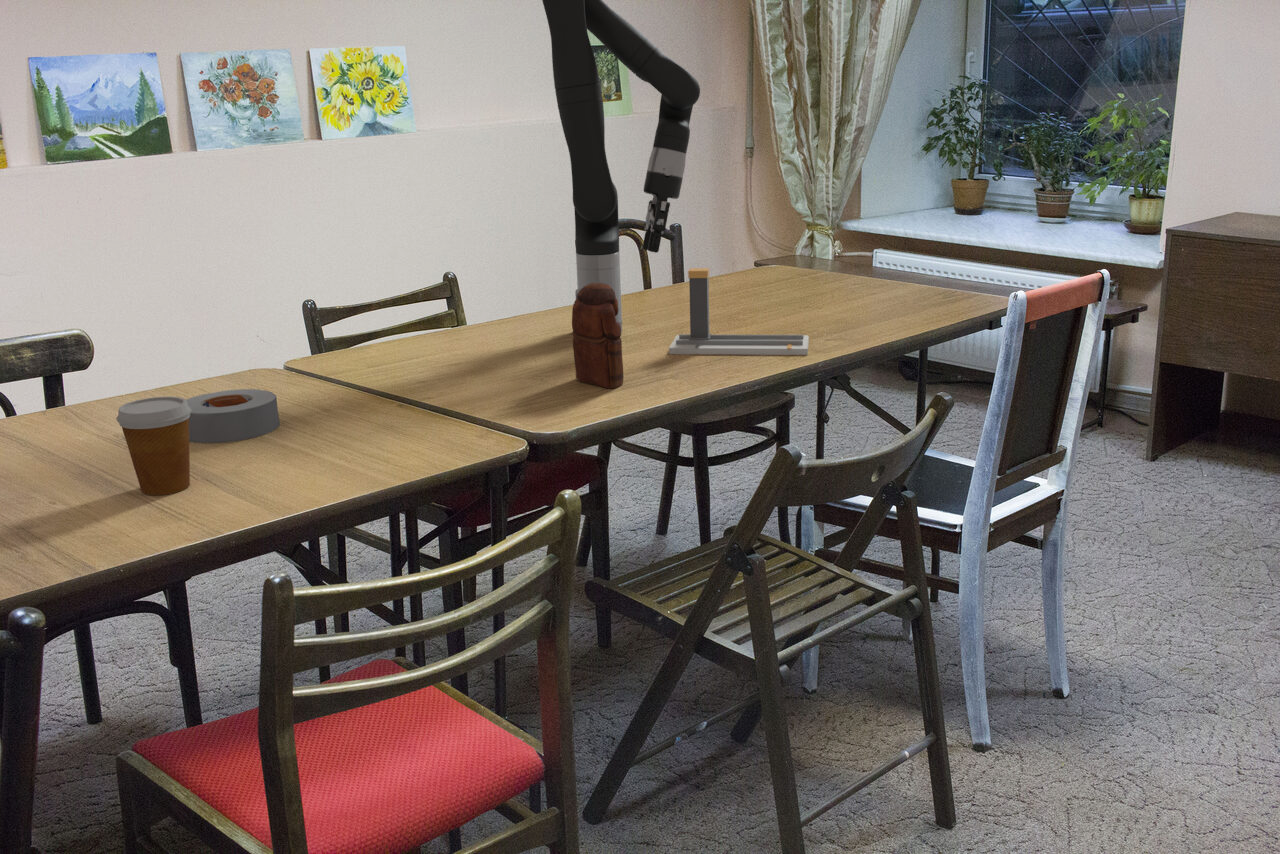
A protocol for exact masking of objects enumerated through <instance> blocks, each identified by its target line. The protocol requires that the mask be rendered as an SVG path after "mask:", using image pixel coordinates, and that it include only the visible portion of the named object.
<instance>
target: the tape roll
mask: <svg viewBox="0 0 1280 854" xmlns="http://www.w3.org/2000/svg"><path fill="white" fill-rule="evenodd" d="M185 400H186V401H187V404H188V406H189V407H190V408H191V413H190V417H189V443H190V442H191V443H199V444H222V443H223V444H224V443H225V444H226V443H231V442H239V441H245V440H249V439H255V438H257V437H261V436H264V435H266V434H269V433H272V432H273V431H275V430H277V429H278V428H279V427H280V423H281V422H280V416H279V415H280V414H279V409H278V407H279V406H278V399H277V395H276V394H275V393H273V392H272V391H269V390H266V389H265V390H264V389H259V388H256V389H254V388H252V389H251V388H250V389H249V388H247V389H245V388H240V389H239V388H238V389H227V390H221V391H215V392H209V393H203V394H199V395H196V396H192V397H189V398H186V399H185Z"/></svg>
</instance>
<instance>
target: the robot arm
mask: <svg viewBox="0 0 1280 854" xmlns="http://www.w3.org/2000/svg"><path fill="white" fill-rule="evenodd" d="M541 1H542V5H543V8H544V12H545V15H546V20H547V23H548V28H549V33H550V41H551V58H552V60H551V61H552V74H553V75H552V77H553V82H554V90H555V96H556V102H557V109H558V114H559V119H560V122H561V127H562V130H563V135H564V138H565V143H566V145H567V148H568V153H569V157H570V158H569V159H570V167H571V179H572V183H571V184H572V204H573V207H574V225H575V226H574V228H575V232H574V236H575V237H574V238H575V240H574V243H575V260H576V263H575V264H576V281H577V282H576V284H577V288H576V289H575V292H574V293H575V300H576V299H577V295H578V293H579V291H580V290H581V289H582V288H583V287H584V286H586V285H588V284H591V283H604V284H607V285H609V286H611V287H612V288H613V290H614V292H615V296H616V298H617V300H618V309H619V311H618V314H617V316H615V318H616V321H617V322H619V323H620V325H621V333H622V332H623V318H622V316H623V315H622V313H623V312H622V310H623V309H622V289H621V287H622V286H621V263H620V262H621V261H620V260H621V259H620V225H619V196H618V190H617V187H616V185H615V183H614V182H613V179H612V176H611V172H610V167H609V164H608V158H607V155H606V154H607V153H606V144H605V133H606V132H605V126H606V125H605V110H604V100H603V92H602V85H601V79H600V74H599V70H598V66H597V62H596V58H595V54H594V51H593V47H592V44H591V41H590V37H589V33H591V34H592V35H593V36H594V37H596V38H597V40H598V41H600V43H602V44H603V46H605V48H607V49H608V51H609V52H611V53H612V55H613V56H615V58H616V59H617V60H619V62H621V63H622V65H624V66H625V67H626V68H627V69H628V70H629V71H631V72H632V73H633V74H634V75H635V76H636V77H637V78H638V79H640V80H641V81H643V82H645V83H648V84H649V85H651V86H652V87H653V88H654V89H655V90H656V91H658V92H659V93H660V94H661V96H660V103H659V110H658V123H657V126H656V130H655V132H654V134H655V135H654V140H653V146H652V150H651V152H650V156H649V160H648V164H647V170H646V175H645V181H644V185H643V192H644V193H645V194H648V195H652V196H653V197H652V199H650V200H649V201H648V205H647V212H646V216H645V222H644V224H643V227H644V232H645V233H644V238H643V243H642V250H646V251H648V252H651V253H659V251H660V246H661V240H662V237H663V236H662V235H663V234H664V233H665V231H666V229H667V222H668V218H669V217H668V215H669V212H670V207H671V203H670V201H668V199H672V200H677V199H679V198H680V194H681V188H682V184H683V178H684V175H685V174H684V173H685V168H686V157H687V152H688V146H689V142H690V135H691V130H690V123H691V117H692V112H693V108H694V105H695V104H696V103H697V102H698V100H699V98H700V95H701V87H700V84H699V81H698V80H697V78H696V77H695V76H694V75H693V74H692V73H690V72H689V70H687V69H686V68H685V67H683V66H682V65H680V63H677V62H676V61H675V60H674V59H672V58H670V57H669V56H668V55H666V54H665V53H664V52H663V51H662V50H661V49H660V47H658V45H656V44H655V43H654V42H653V41H652V40H651V39H649V38H648V37H647V36H646V35H645V34H644V33H643V32H641V30H639V29H638V28H636V27H635V26H634V25H633V24H632V23H630V22H629V21H627V20H626V18H624V17H623V16H621V14H618V13H617V12H616V11H615V10H614V9H612V8H611V7H610V6H609V5H608V4H607V3H606V2H605V1H604V0H541ZM588 31H589V33H588Z"/></svg>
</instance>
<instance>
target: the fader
mask: <svg viewBox="0 0 1280 854" xmlns="http://www.w3.org/2000/svg"><path fill="white" fill-rule="evenodd" d="M687 273H688V275H687V277H688V281H689V285H688V286H689V325H690V326H689V327H690V328H689V330H690V333H689V334H690V337H689V340H710V339H711V335H712V334H711V333H710V289H709V288H710V286H709V285H710V283H709V282H710V281H709V276H710V268H709V267H706V268H705V267H699V268H698V267H697V268H694V267H693V268H692V267H691V268H689V269H688V271H687Z"/></svg>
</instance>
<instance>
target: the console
mask: <svg viewBox="0 0 1280 854" xmlns="http://www.w3.org/2000/svg"><path fill="white" fill-rule="evenodd" d="M809 336H810V335H805V334H794V333H789V334H711V339H710V340H689V337H690V333H689V334H681V333H680V334H676V336H675V337H674V339H673V341H672V342H671V344H670V345H669V347H668V354H669V355H745V356H746V355H754V356H755V355H758V356H759V355H765V356H766V355H768V356H769V355H772V356H773V355H774V356H776V355H779V356H780V355H781V356H785V355H786V356H793V355H794V356H797V355H798V356H799V355H800V356H807V355H808V353H809V341H810V340H809V339H810V337H809ZM808 356H809V355H808Z"/></svg>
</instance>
